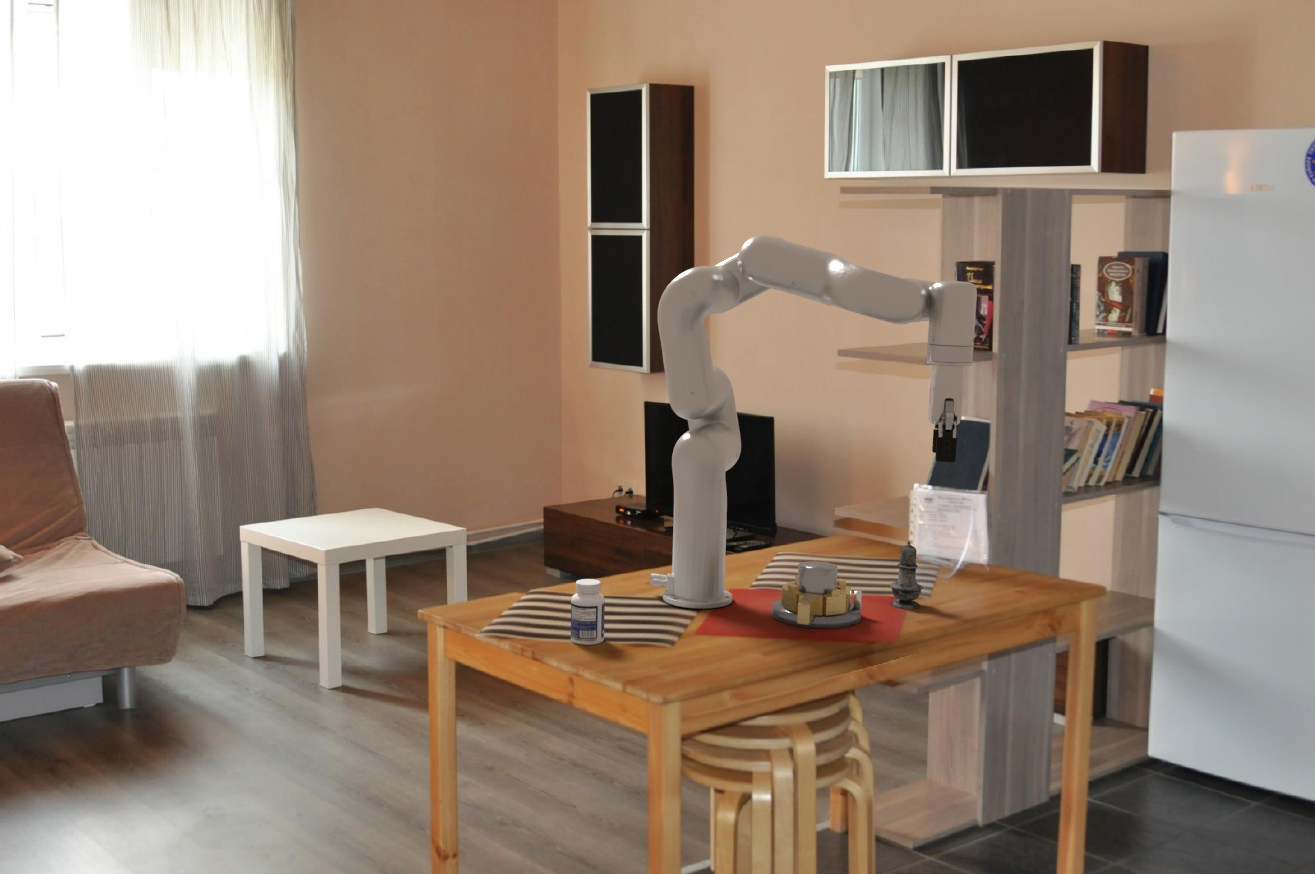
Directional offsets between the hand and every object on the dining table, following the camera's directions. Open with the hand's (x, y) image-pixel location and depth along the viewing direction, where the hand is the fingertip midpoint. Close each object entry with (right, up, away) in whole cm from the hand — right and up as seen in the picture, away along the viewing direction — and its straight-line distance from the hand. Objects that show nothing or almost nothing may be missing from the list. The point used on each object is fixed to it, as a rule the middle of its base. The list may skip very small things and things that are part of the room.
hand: (943, 457), depth 224 cm
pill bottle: (-59, -30, -10) cm, 67 cm away
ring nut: (-21, -27, +6) cm, 35 cm away
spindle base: (-20, -28, +9) cm, 36 cm away
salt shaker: (-3, -27, +18) cm, 33 cm away
